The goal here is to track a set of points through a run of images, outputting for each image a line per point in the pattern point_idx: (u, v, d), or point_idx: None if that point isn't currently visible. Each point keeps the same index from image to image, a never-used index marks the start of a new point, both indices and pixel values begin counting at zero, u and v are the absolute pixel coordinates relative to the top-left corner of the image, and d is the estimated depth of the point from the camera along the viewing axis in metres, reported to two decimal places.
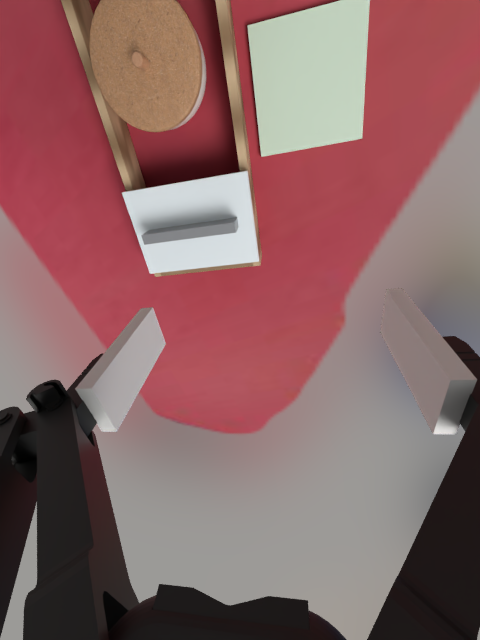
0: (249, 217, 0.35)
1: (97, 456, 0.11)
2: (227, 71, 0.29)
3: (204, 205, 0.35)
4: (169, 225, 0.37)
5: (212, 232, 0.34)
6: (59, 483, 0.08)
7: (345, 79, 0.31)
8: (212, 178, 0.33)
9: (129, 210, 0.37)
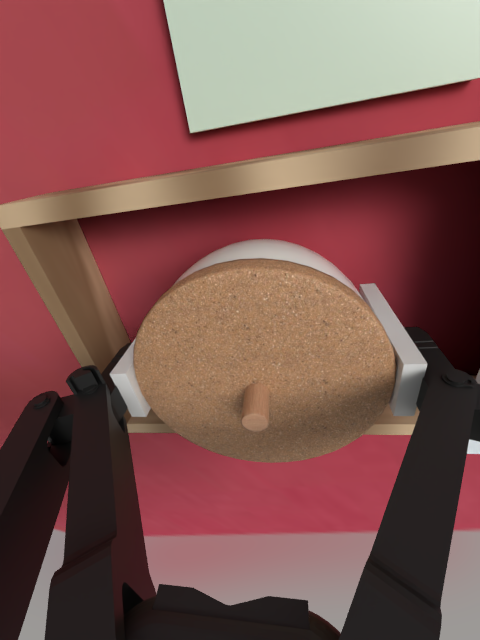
0: None
1: (126, 442, 0.11)
2: (275, 184, 0.11)
3: None
4: None
5: None
6: (90, 467, 0.08)
7: None
8: None
9: None
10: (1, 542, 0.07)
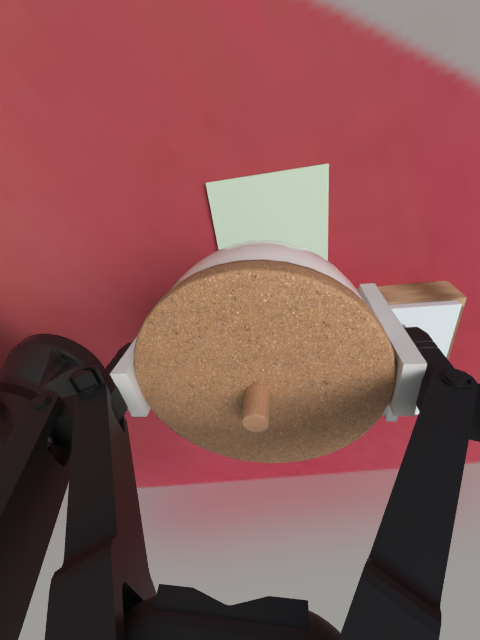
0: (396, 311, 0.29)
1: (127, 442, 0.11)
2: None
3: None
4: None
5: None
6: (90, 467, 0.08)
7: (268, 196, 0.28)
8: None
9: None
10: (1, 542, 0.07)
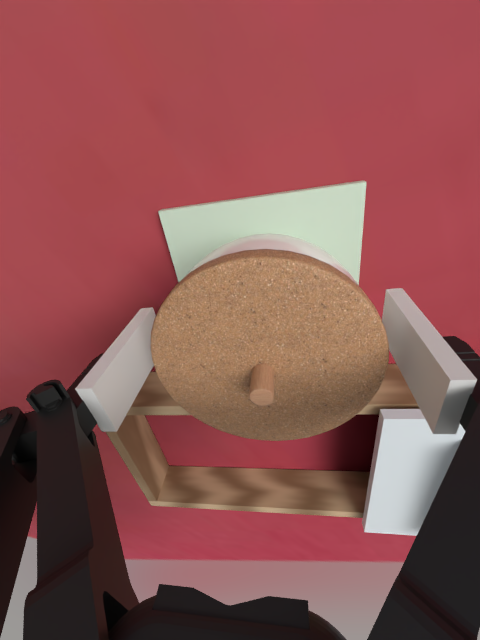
0: None
1: (97, 456, 0.11)
2: None
3: (418, 472, 0.21)
4: None
5: None
6: (59, 483, 0.08)
7: (262, 233, 0.17)
8: (379, 457, 0.20)
9: (390, 532, 0.26)
10: None
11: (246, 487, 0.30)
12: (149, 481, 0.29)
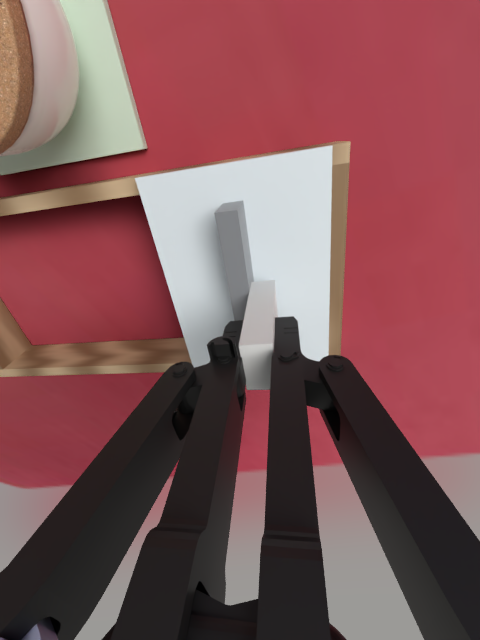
0: (221, 172, 0.16)
1: (240, 422, 0.11)
2: (25, 209, 0.19)
3: (205, 268, 0.19)
4: None
5: (238, 264, 0.16)
6: (203, 439, 0.09)
7: None
8: (158, 248, 0.18)
9: None
10: (113, 502, 0.08)
11: (97, 354, 0.29)
12: None
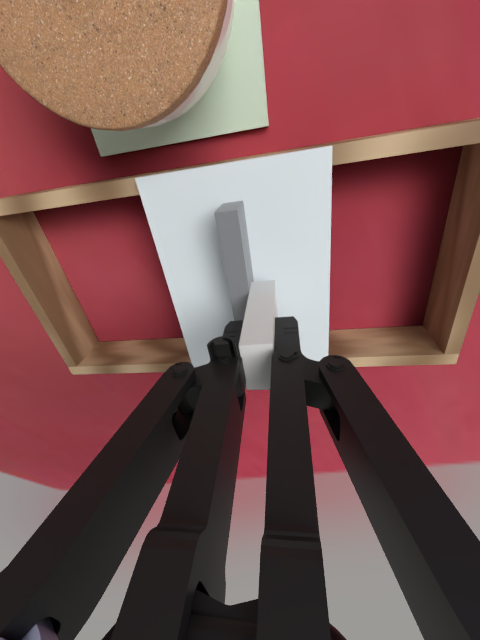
0: (221, 172, 0.16)
1: (240, 422, 0.11)
2: None
3: (205, 268, 0.19)
4: None
5: (238, 264, 0.16)
6: (203, 439, 0.09)
7: None
8: (158, 248, 0.18)
9: None
10: (113, 502, 0.08)
11: (176, 350, 0.27)
12: (63, 337, 0.26)
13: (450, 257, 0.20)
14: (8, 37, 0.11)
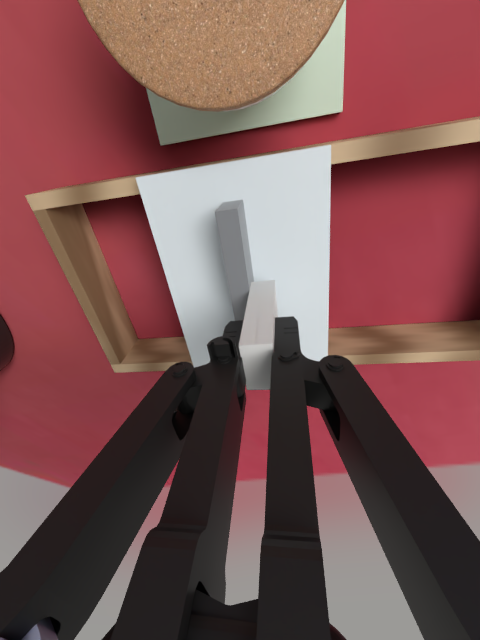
0: (221, 171, 0.16)
1: (240, 422, 0.11)
2: None
3: (205, 267, 0.19)
4: None
5: (238, 263, 0.16)
6: (203, 439, 0.09)
7: None
8: (158, 247, 0.19)
9: None
10: (113, 502, 0.08)
11: None
12: (109, 334, 0.25)
13: None
14: (115, 8, 0.10)
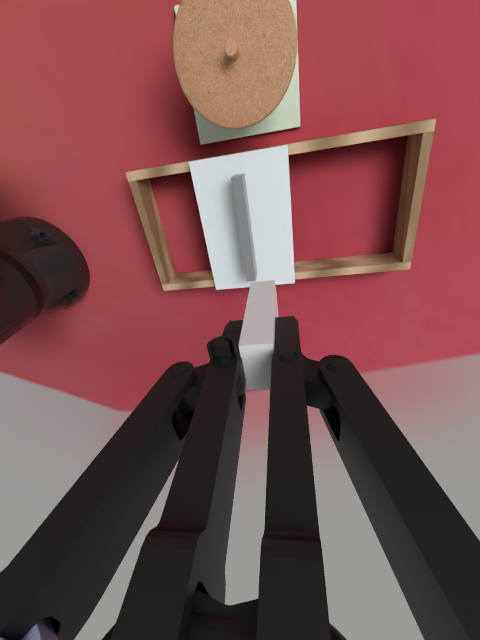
0: (233, 158, 0.31)
1: (240, 422, 0.11)
2: None
3: (223, 212, 0.34)
4: None
5: (242, 205, 0.31)
6: (203, 439, 0.09)
7: None
8: (198, 201, 0.34)
9: (231, 287, 0.39)
10: (113, 502, 0.08)
11: None
12: (162, 262, 0.40)
13: (404, 202, 0.34)
14: (196, 88, 0.26)
